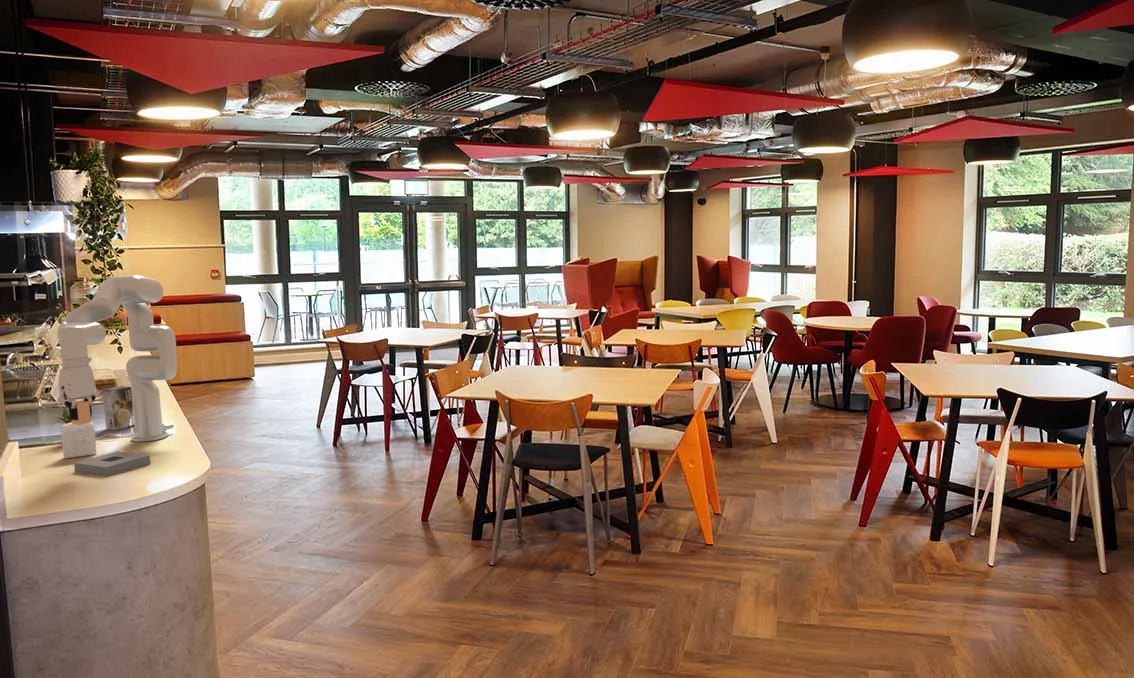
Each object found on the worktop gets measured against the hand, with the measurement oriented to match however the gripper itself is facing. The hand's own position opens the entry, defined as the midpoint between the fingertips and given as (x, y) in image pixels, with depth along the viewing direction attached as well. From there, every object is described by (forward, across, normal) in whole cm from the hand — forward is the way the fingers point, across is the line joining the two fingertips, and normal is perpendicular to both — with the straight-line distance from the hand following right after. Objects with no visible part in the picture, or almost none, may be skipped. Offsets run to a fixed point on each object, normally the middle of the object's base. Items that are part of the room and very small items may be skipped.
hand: (81, 417), depth 292 cm
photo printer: (+17, -10, -20) cm, 28 cm away
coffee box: (+18, -48, -51) cm, 72 cm away
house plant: (+17, -24, -42) cm, 51 cm away
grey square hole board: (+17, -4, +8) cm, 19 cm away
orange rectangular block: (+2, 0, 0) cm, 2 cm away
